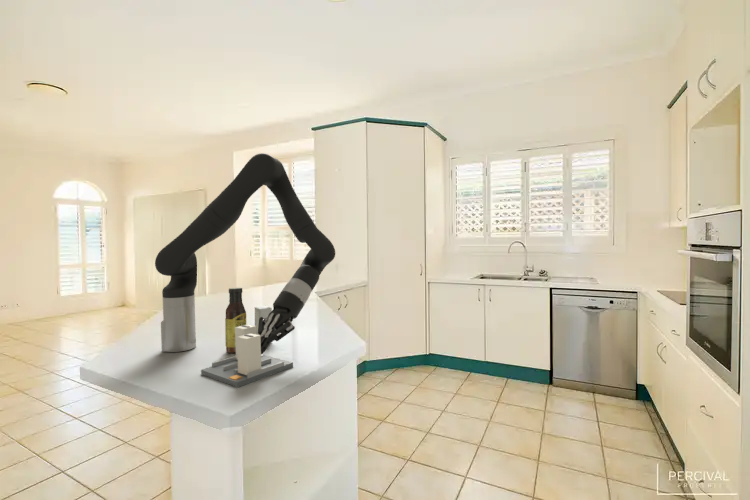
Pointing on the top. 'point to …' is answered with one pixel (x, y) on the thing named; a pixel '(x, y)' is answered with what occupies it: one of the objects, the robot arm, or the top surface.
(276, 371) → the switch board
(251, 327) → the tab
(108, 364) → the top surface
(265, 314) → the skincare box
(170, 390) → the top surface
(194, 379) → the top surface
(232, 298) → the sauce bottle
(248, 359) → the tab
